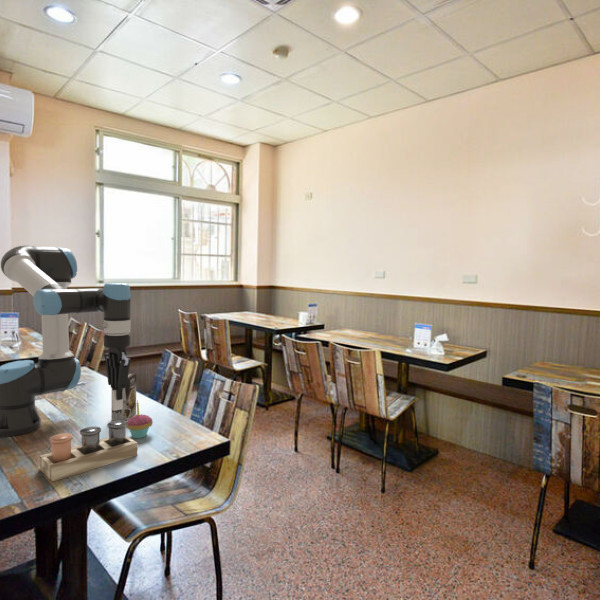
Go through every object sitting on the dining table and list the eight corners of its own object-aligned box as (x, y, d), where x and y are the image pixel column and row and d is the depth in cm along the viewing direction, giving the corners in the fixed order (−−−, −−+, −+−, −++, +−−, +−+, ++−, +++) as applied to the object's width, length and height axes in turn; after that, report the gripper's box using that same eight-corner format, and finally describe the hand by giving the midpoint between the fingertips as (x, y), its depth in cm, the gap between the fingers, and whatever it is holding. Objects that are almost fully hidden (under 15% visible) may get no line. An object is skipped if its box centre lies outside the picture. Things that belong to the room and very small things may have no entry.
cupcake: (122, 434, 148) (122, 401, 147) (146, 429, 154) (146, 396, 153) (132, 442, 142) (132, 407, 141) (156, 436, 148) (157, 402, 147)
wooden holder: (40, 469, 122) (39, 455, 122) (122, 445, 140) (122, 433, 139) (52, 481, 115) (52, 467, 115) (137, 455, 133) (137, 442, 133)
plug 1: (77, 451, 127) (76, 429, 126) (96, 446, 131) (96, 425, 131) (84, 457, 123) (84, 435, 123) (104, 451, 127) (104, 430, 127)
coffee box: (127, 420, 162) (127, 378, 161) (110, 420, 162) (110, 378, 161) (136, 412, 171) (137, 372, 170) (120, 412, 171) (120, 372, 170)
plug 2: (104, 443, 133) (104, 423, 132) (121, 438, 137) (121, 418, 137) (112, 449, 129) (112, 428, 129) (130, 444, 133) (130, 423, 133)
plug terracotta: (47, 459, 121) (46, 437, 121) (68, 453, 125) (68, 431, 125) (54, 466, 117) (53, 442, 117) (75, 459, 121) (75, 437, 121)
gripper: (95, 332, 132) (96, 407, 134) (114, 337, 123) (114, 417, 125) (119, 330, 138) (119, 402, 139) (139, 335, 129) (139, 411, 131)
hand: (117, 409), depth 132 cm, fingers closed
